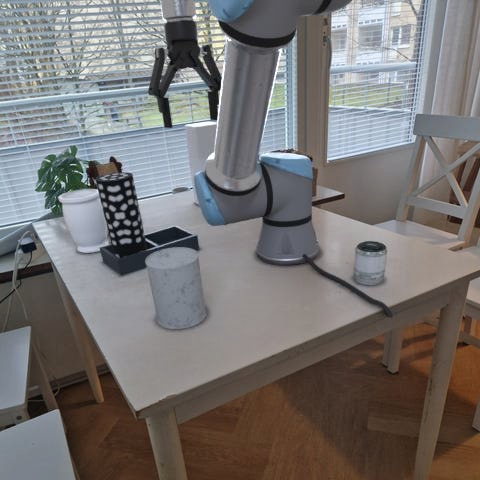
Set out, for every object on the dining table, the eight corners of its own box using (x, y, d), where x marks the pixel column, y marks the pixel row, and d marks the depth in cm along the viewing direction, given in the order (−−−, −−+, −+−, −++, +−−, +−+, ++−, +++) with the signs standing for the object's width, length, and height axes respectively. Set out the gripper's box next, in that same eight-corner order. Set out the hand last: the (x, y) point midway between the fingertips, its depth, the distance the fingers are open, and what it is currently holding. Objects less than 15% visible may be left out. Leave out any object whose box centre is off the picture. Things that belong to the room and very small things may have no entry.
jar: (72, 258, 114) (56, 201, 106) (74, 244, 122) (59, 191, 115) (113, 251, 116) (100, 195, 108) (112, 238, 124) (100, 186, 117)
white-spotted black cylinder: (130, 267, 103) (111, 182, 93) (108, 261, 108) (87, 179, 97) (155, 255, 108) (140, 173, 98) (133, 249, 113) (116, 171, 103)
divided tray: (199, 249, 112) (197, 234, 110) (121, 275, 102) (117, 260, 100) (177, 238, 120) (175, 225, 118) (103, 262, 110) (99, 247, 108)
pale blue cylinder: (207, 302, 87) (199, 245, 81) (205, 327, 79) (197, 266, 73) (160, 305, 88) (149, 249, 81) (154, 331, 79) (141, 270, 73)
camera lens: (380, 288, 87) (384, 251, 83) (349, 283, 90) (352, 248, 86) (386, 275, 92) (390, 240, 88) (357, 271, 94) (359, 237, 90)
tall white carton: (216, 197, 154) (209, 121, 141) (228, 203, 147) (221, 123, 134) (194, 202, 150) (184, 124, 137) (204, 208, 143) (195, 127, 130)
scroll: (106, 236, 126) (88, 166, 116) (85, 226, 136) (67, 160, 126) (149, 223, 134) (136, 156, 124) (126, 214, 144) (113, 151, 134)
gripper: (215, 21, 106) (223, 116, 117) (121, 24, 94) (140, 129, 105) (234, 17, 100) (240, 117, 111) (136, 20, 88) (154, 132, 99)
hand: (192, 123), depth 108 cm, fingers open, 13 cm apart
